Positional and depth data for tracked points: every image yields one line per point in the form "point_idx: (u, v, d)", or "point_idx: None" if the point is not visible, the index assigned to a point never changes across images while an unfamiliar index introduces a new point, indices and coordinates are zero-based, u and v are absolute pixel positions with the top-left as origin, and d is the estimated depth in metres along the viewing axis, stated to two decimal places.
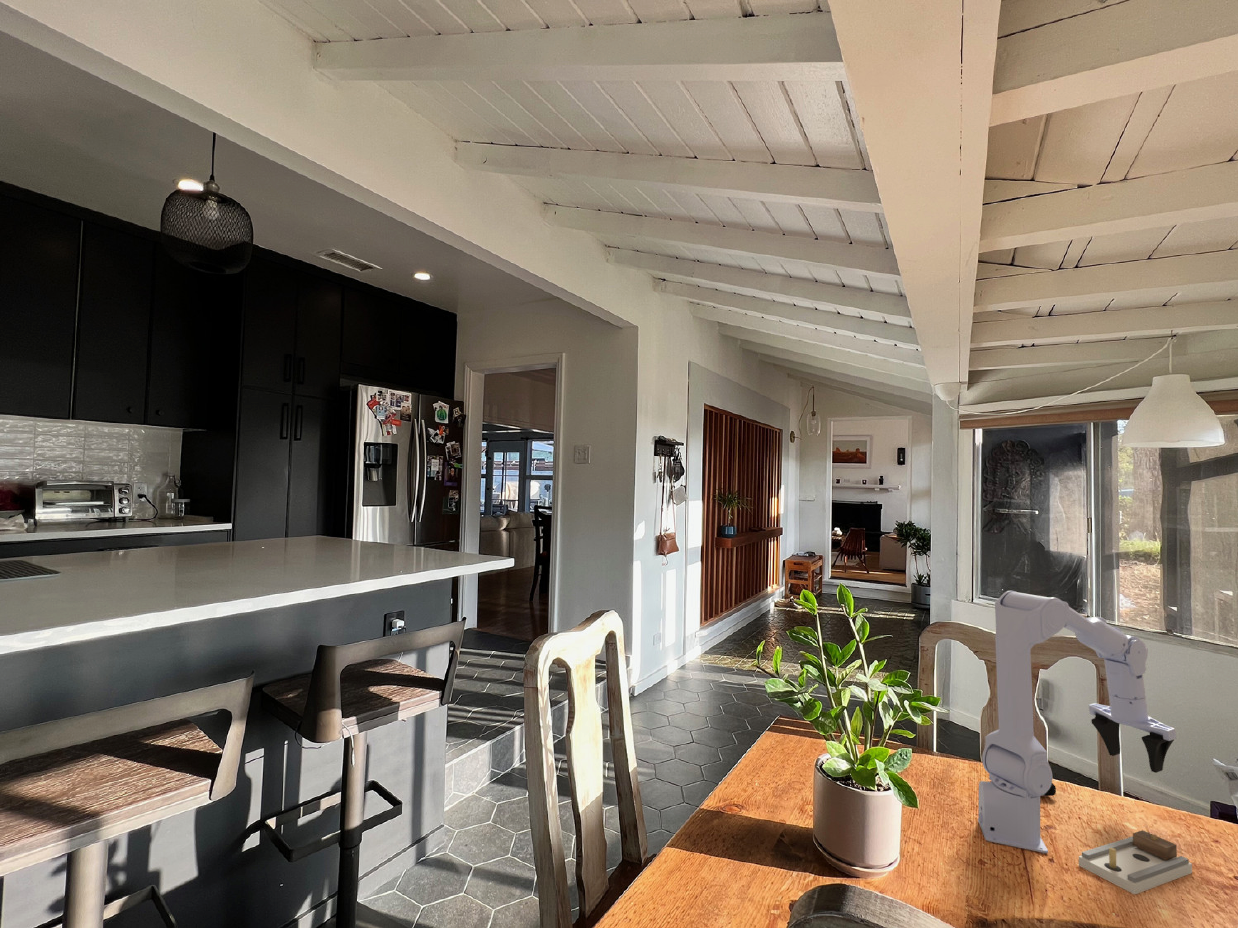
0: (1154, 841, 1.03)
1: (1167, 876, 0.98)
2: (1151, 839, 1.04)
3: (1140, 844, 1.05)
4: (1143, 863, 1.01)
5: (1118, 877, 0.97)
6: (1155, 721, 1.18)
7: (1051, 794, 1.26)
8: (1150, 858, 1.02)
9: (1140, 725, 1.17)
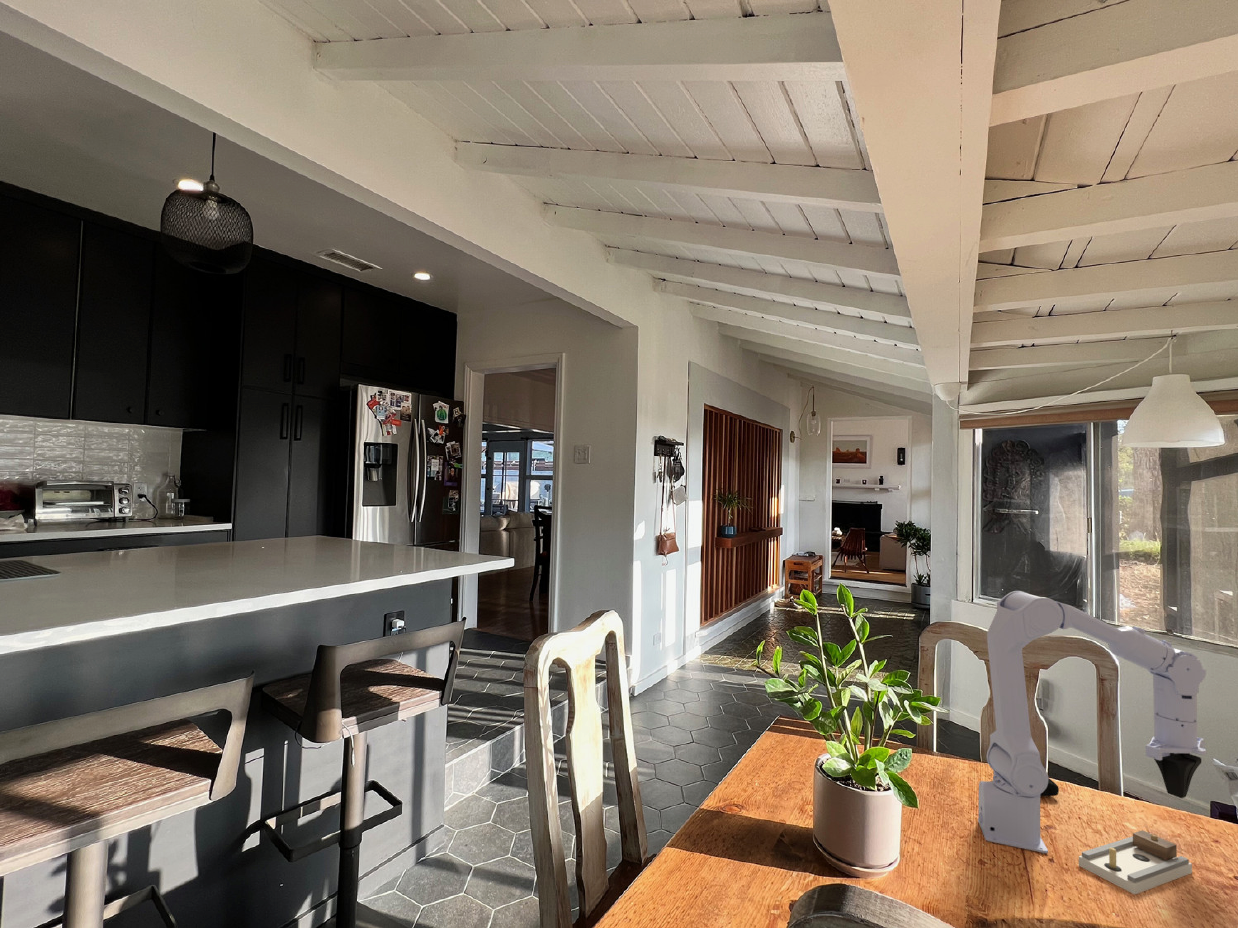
0: (1154, 841, 1.03)
1: (1167, 876, 0.98)
2: (1151, 839, 1.04)
3: (1140, 844, 1.05)
4: (1143, 863, 1.01)
5: (1118, 877, 0.97)
6: None
7: (1054, 794, 1.26)
8: (1150, 858, 1.02)
9: (1151, 741, 1.08)
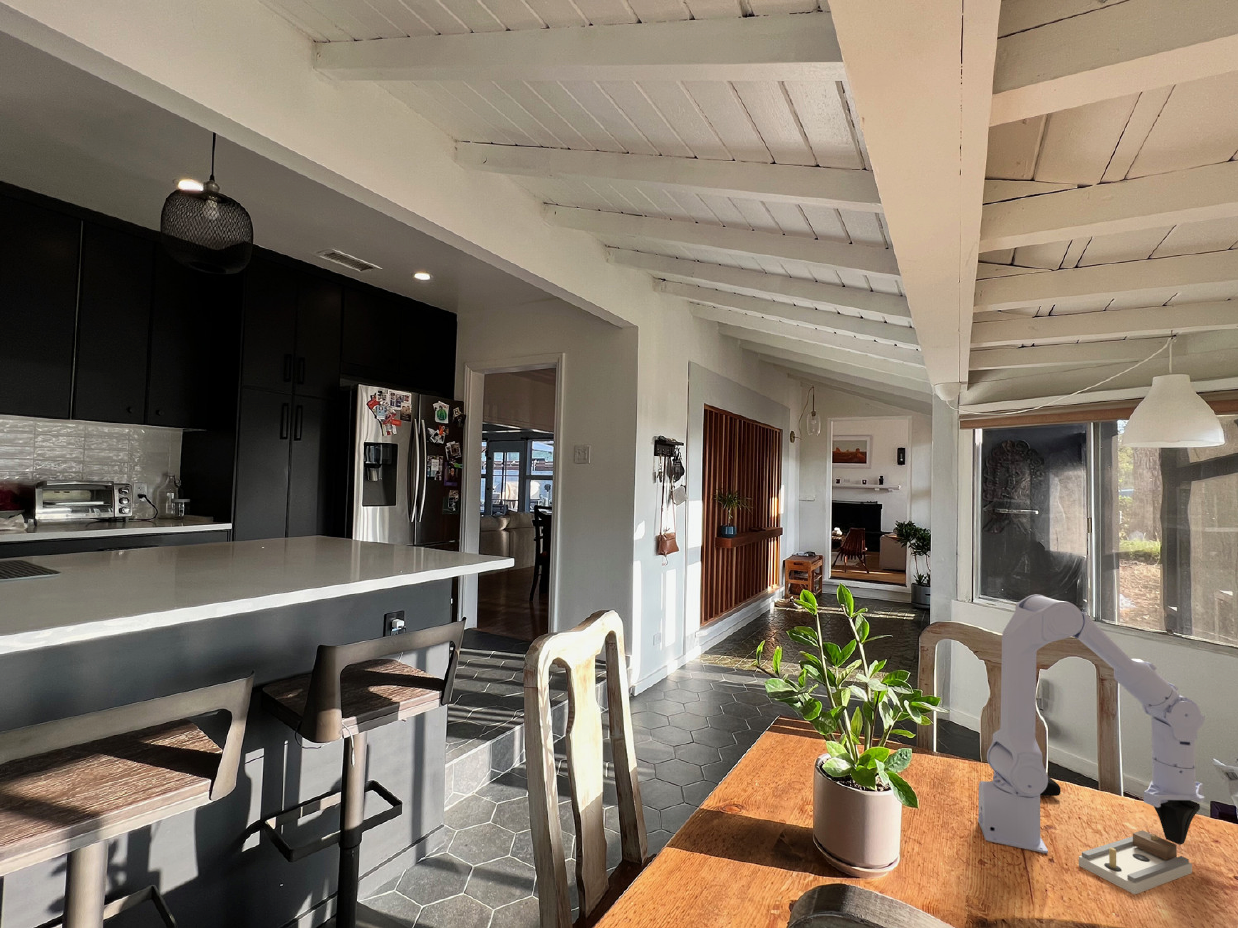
0: (1154, 841, 1.03)
1: (1167, 876, 0.98)
2: (1151, 839, 1.04)
3: (1140, 844, 1.05)
4: (1143, 863, 1.01)
5: (1118, 877, 0.97)
6: None
7: (1056, 794, 1.26)
8: (1150, 858, 1.02)
9: None
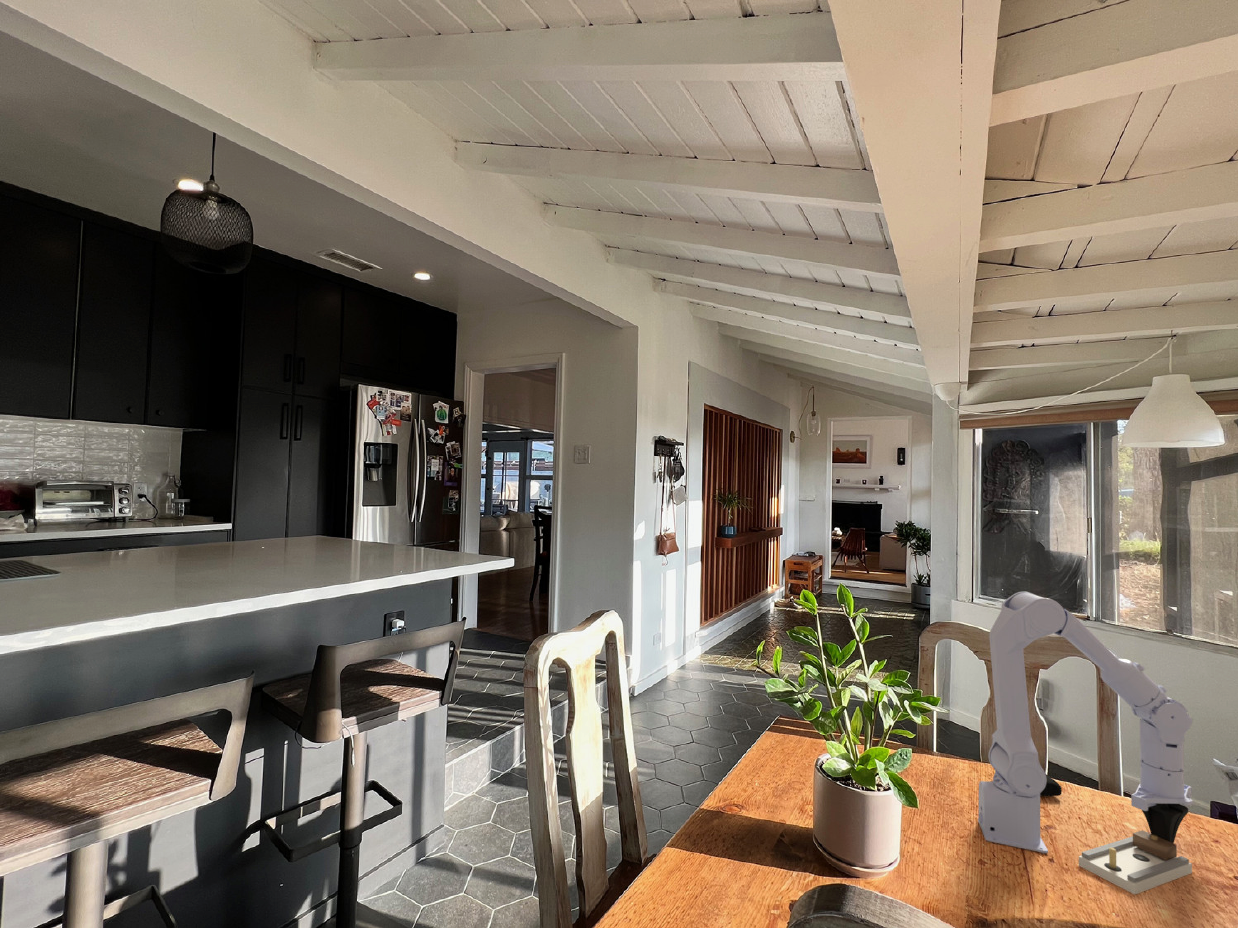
0: (1154, 841, 1.03)
1: (1167, 876, 0.98)
2: (1151, 839, 1.04)
3: (1140, 844, 1.05)
4: (1143, 863, 1.01)
5: (1118, 877, 0.97)
6: None
7: (1057, 794, 1.26)
8: (1150, 858, 1.02)
9: (1137, 789, 1.06)
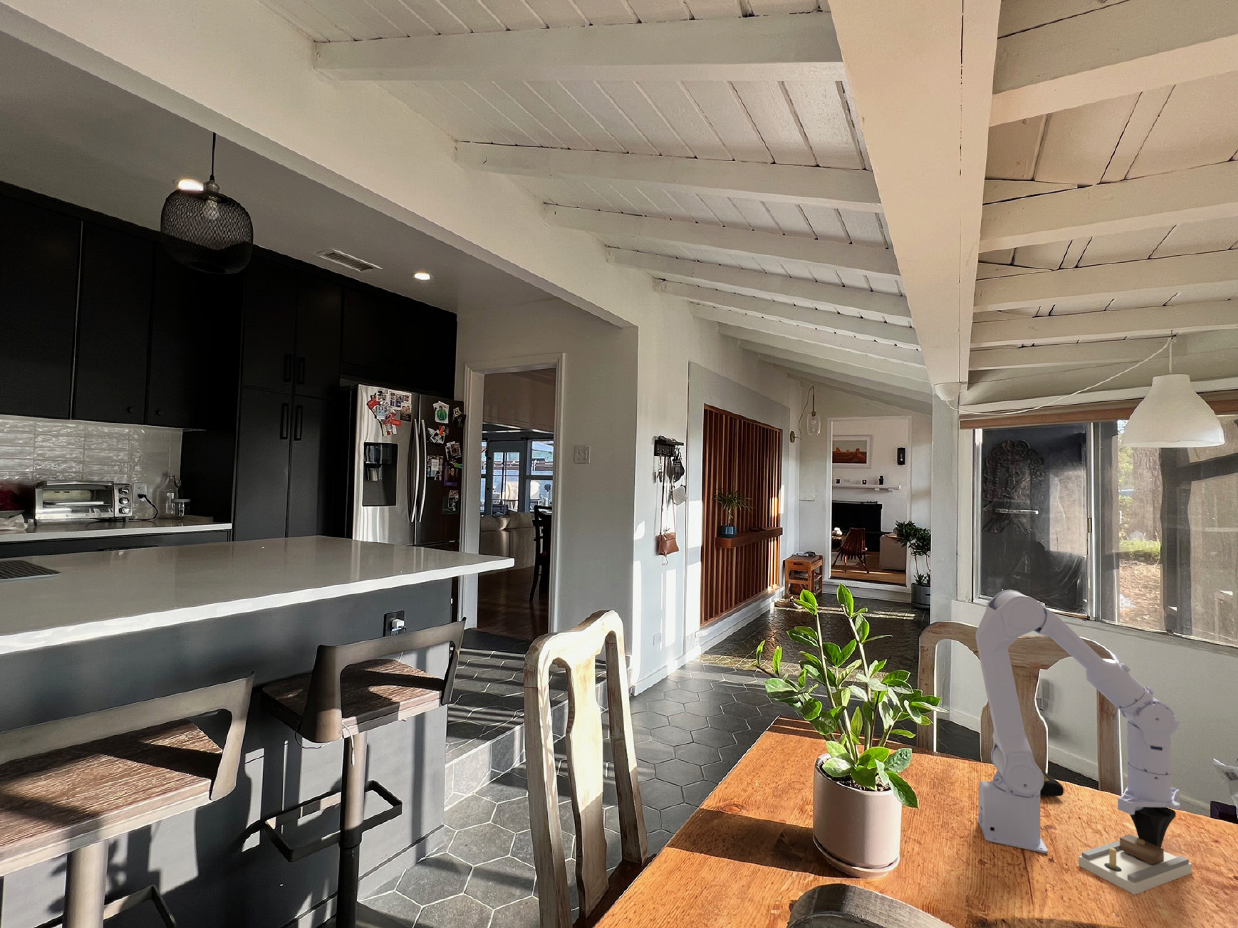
0: (1141, 845, 1.02)
1: (1167, 876, 0.98)
2: (1138, 843, 1.02)
3: (1127, 848, 1.03)
4: (1143, 863, 1.01)
5: (1118, 877, 0.97)
6: None
7: (1059, 794, 1.26)
8: None
9: None
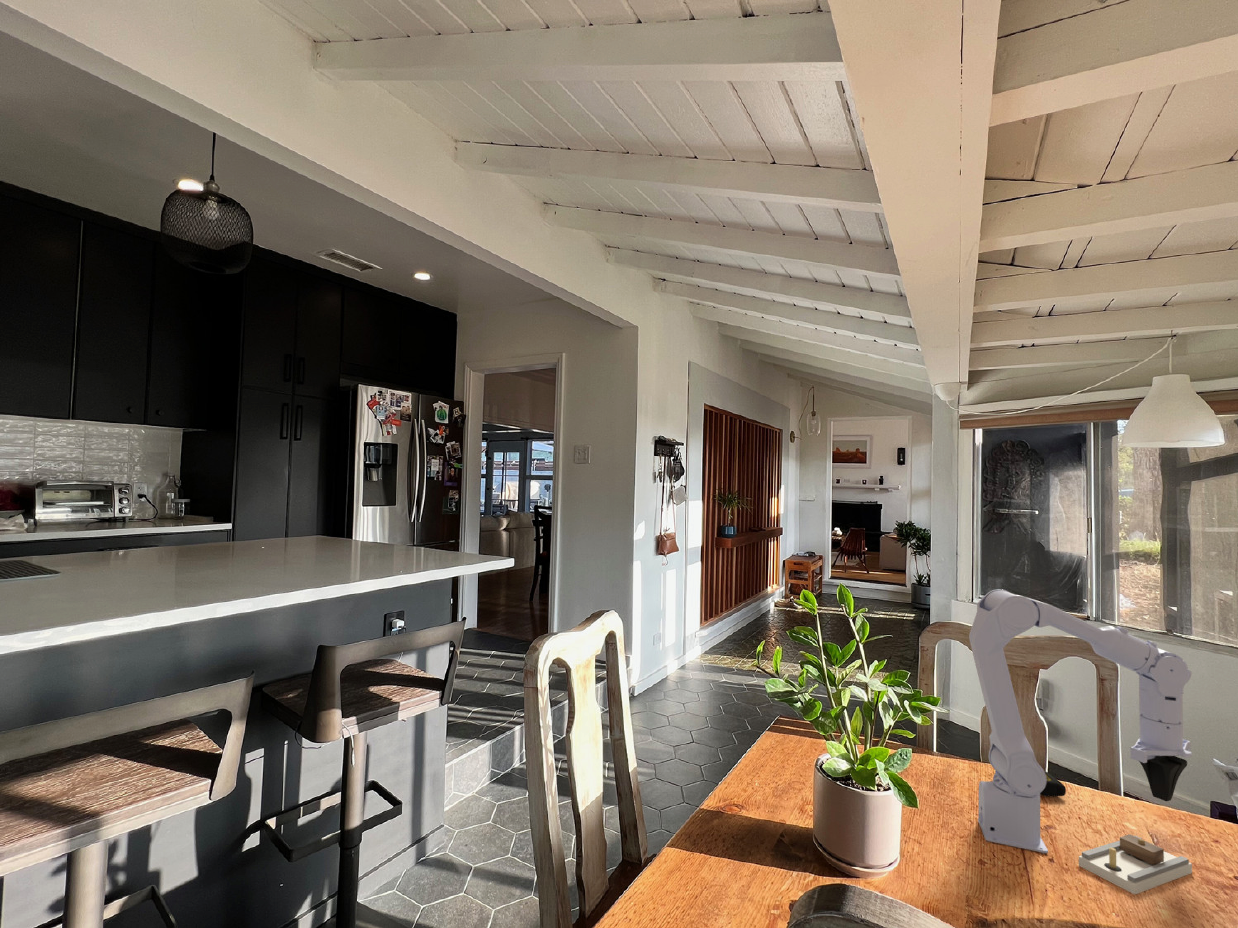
0: (1141, 845, 1.02)
1: (1167, 876, 0.98)
2: (1138, 843, 1.02)
3: (1127, 848, 1.03)
4: (1143, 863, 1.01)
5: (1118, 877, 0.97)
6: None
7: (1061, 794, 1.26)
8: None
9: None
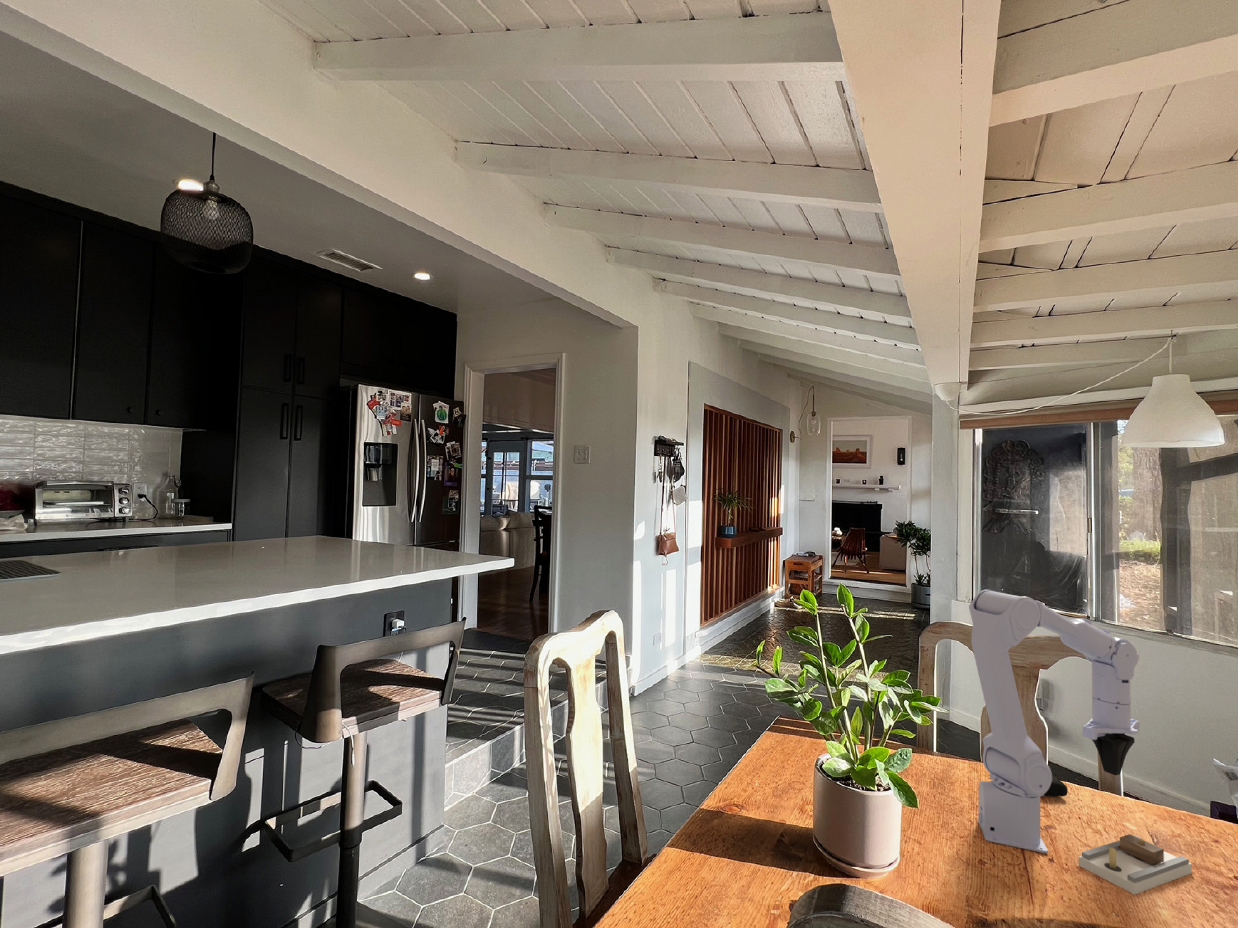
0: (1141, 845, 1.02)
1: (1167, 876, 0.98)
2: (1138, 843, 1.02)
3: (1127, 848, 1.03)
4: (1143, 863, 1.01)
5: (1118, 877, 0.97)
6: None
7: (1063, 795, 1.26)
8: None
9: (1089, 722, 1.16)
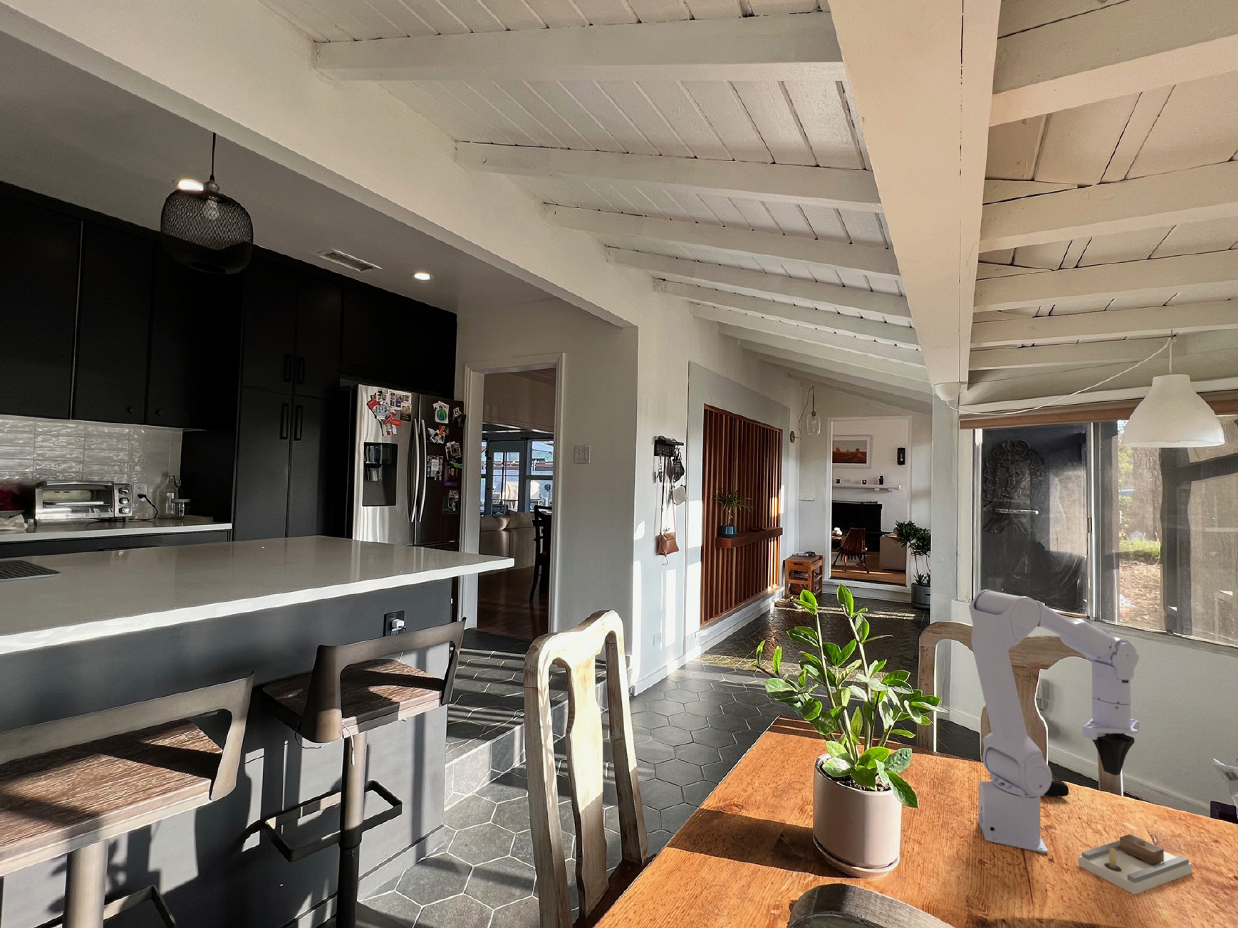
0: (1141, 845, 1.02)
1: (1167, 876, 0.98)
2: (1138, 843, 1.02)
3: (1127, 848, 1.03)
4: (1143, 863, 1.01)
5: (1118, 877, 0.97)
6: None
7: (1064, 795, 1.26)
8: None
9: (1089, 722, 1.16)
